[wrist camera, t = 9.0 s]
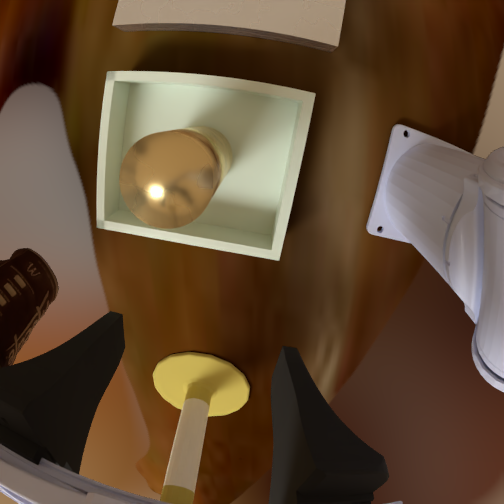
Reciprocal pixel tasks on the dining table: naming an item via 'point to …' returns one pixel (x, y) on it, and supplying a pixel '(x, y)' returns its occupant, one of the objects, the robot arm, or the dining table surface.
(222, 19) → the block
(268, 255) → the tray
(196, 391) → the candle
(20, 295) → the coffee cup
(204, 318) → the dining table surface
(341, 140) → the dining table surface
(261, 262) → the dining table surface
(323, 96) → the dining table surface
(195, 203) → the pin
